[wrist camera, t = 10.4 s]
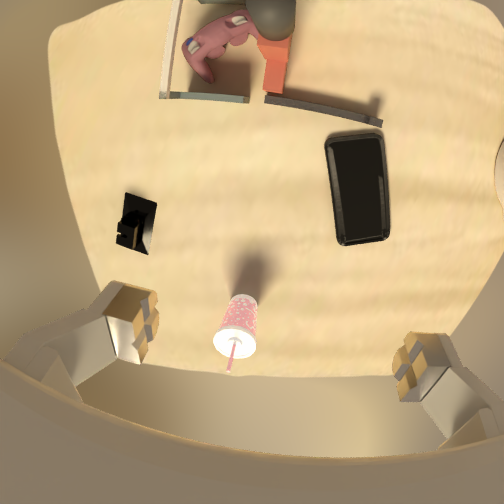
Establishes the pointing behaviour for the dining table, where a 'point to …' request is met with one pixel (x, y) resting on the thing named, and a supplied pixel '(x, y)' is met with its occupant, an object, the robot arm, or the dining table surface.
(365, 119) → the rail
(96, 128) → the dining table surface
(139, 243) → the black piece
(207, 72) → the video game controller
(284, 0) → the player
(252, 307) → the beverage cup
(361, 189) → the phone
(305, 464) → the robot arm
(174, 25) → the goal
